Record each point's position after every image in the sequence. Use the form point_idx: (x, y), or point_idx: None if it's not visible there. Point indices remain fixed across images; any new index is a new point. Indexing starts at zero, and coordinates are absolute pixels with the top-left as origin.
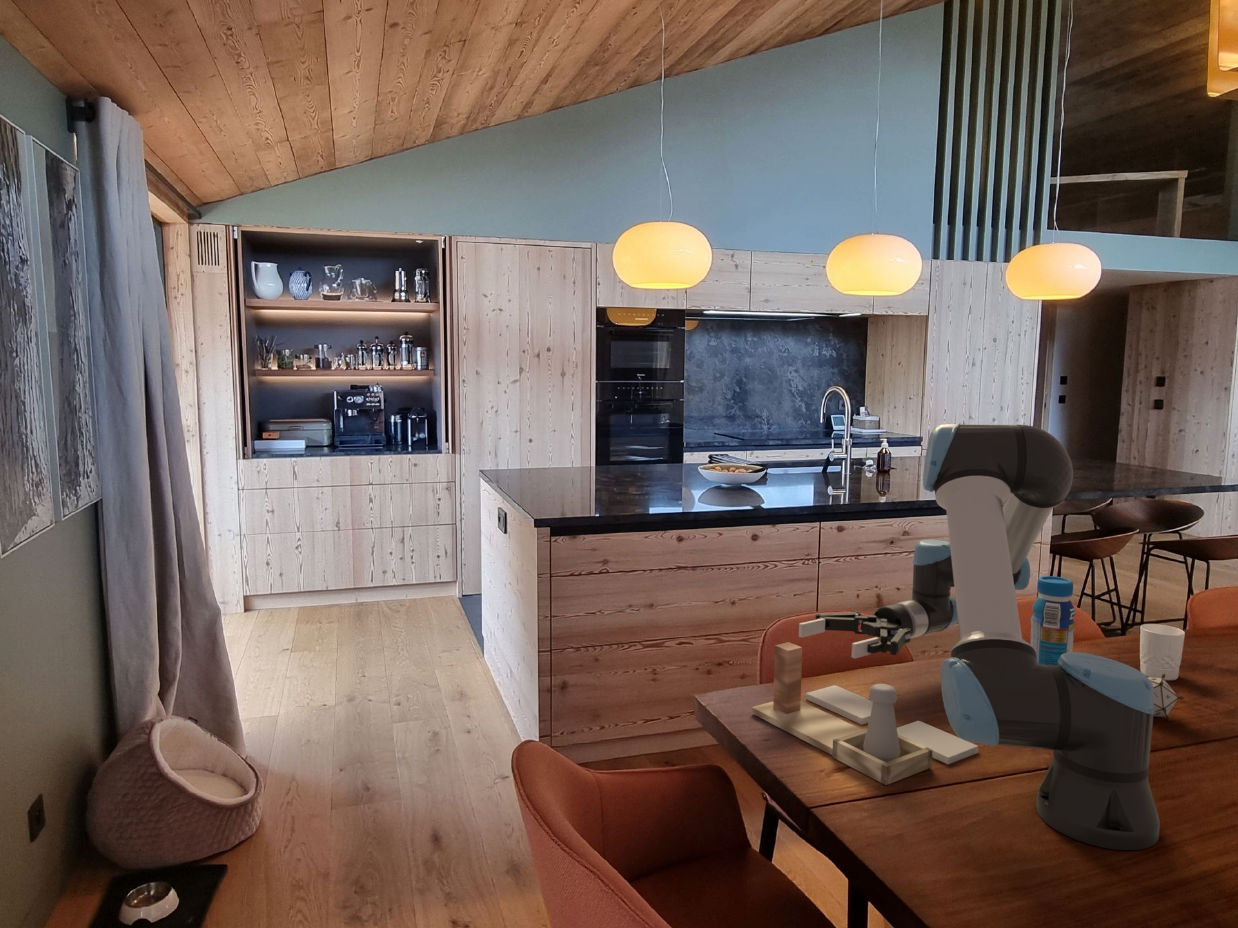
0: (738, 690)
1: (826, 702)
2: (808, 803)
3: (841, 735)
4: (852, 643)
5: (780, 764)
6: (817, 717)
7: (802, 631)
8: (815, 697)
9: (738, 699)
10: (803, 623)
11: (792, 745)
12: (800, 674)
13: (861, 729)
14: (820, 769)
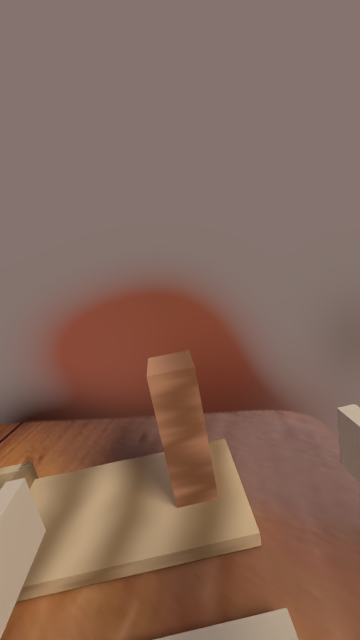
0: None
1: (193, 630)
2: (26, 423)
3: (45, 519)
4: (22, 479)
5: (89, 428)
6: (128, 522)
7: (343, 442)
8: (243, 618)
9: (299, 453)
10: (357, 417)
11: (109, 457)
12: (160, 435)
13: None
14: (43, 458)
